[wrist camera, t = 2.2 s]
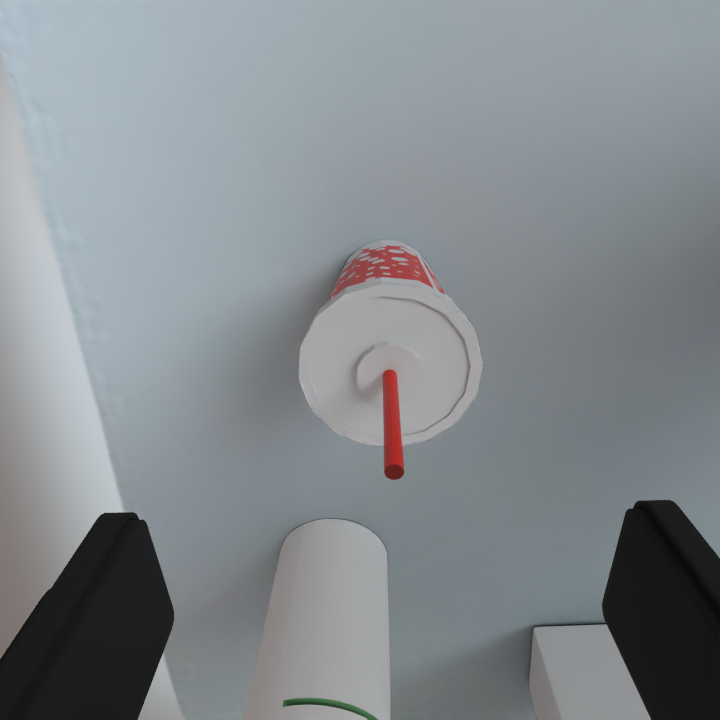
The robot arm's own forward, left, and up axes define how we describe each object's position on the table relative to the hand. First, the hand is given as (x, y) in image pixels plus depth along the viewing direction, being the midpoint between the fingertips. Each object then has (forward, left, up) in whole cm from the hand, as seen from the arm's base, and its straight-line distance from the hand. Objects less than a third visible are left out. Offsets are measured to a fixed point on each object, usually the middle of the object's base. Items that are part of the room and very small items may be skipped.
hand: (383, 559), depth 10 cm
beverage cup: (0, 0, -17) cm, 17 cm away
